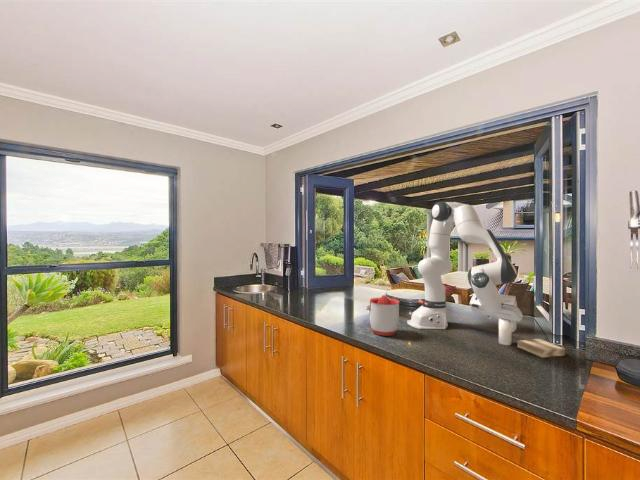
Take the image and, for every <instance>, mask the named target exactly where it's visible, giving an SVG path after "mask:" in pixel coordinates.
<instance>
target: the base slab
mask: <svg viewBox="0 0 640 480" xmlns="http://www.w3.org/2000/svg"><path fill="white" fill-rule="evenodd" d="M517 348H520V349H522V350H524V351H526V352H528V353H530V354H533V355H535V356H537V357H540V358H542V359H544V358H551V357H553V358H554V357H562V356H566V348H565V347H562V346H560V345H557V344H554V343H550V342H549V341H546V340H544V339H540V338H530V339H529V338H528V339H518V340H517Z"/></svg>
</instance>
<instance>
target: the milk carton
mask: <svg viewBox="0 0 640 480" xmlns="http://www.w3.org/2000/svg"><path fill="white" fill-rule="evenodd" d="M499 294H500V296H501V298H502V301H503V303H504V304H510V305H515V306H517V307H518V304H517V303H518V302H517V297H516V296H515V295H509V294H501V293H499ZM497 319H498V321H497V330H499V318H498V317H497ZM516 330H517V321H514V322H513V324H512V333H514V332H516Z"/></svg>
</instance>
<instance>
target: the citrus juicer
mask: <svg viewBox="0 0 640 480" xmlns="http://www.w3.org/2000/svg"><path fill="white" fill-rule="evenodd" d="M365 310H366V311H368V310H369V323H370V328H371V331H372V333H374V334H375V335H377V336H378V335H379V336H383V337H385V336H387V337H388V336H389V337H390V336H393V335H395V334H396V332H397V330H398V326H399V318H400V312H399V311H400V300H398V299H395V298H390V297H388V296H387V295H385V294H384V295H382V296H380V297H373V298H370V301H369V305H367V306H366V308H365Z"/></svg>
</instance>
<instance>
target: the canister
mask: <svg viewBox="0 0 640 480" xmlns="http://www.w3.org/2000/svg"><path fill="white" fill-rule="evenodd" d="M512 333H513V332H512V324H510V323H509V322H508V319H503V318H499V329H498V344H499V345H503V346H511V345H512Z"/></svg>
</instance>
